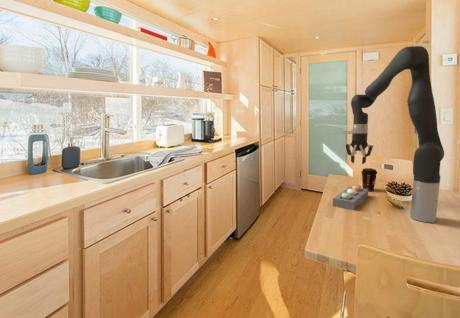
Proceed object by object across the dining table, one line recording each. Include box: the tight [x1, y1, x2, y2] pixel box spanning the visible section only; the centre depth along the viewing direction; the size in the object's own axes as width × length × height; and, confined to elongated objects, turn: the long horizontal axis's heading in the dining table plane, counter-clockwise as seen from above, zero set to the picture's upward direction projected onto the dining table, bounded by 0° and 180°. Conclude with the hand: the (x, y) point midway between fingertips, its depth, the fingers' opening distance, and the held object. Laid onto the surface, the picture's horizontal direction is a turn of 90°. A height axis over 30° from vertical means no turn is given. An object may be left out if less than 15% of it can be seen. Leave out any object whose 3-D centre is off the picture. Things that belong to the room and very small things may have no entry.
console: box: [332, 186, 369, 211], centre depth 143 cm, size 10×28×4 cm, turn 140°
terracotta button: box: [351, 184, 362, 192], centre depth 150 cm, size 4×4×3 cm
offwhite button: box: [346, 188, 356, 196], centre depth 143 cm, size 4×4×3 cm
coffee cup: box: [360, 167, 378, 192], centre depth 162 cm, size 9×8×13 cm
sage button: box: [342, 193, 351, 200], centre depth 136 cm, size 4×4×3 cm
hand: (358, 163), depth 147 cm, fingers open, 4 cm apart
